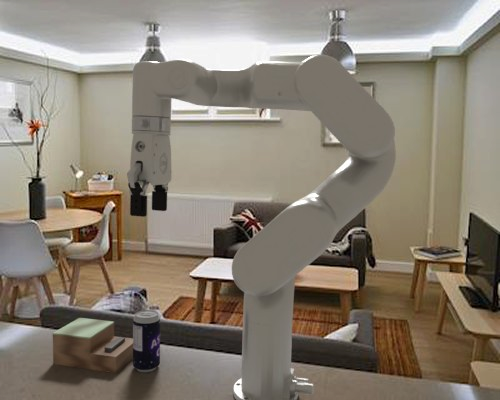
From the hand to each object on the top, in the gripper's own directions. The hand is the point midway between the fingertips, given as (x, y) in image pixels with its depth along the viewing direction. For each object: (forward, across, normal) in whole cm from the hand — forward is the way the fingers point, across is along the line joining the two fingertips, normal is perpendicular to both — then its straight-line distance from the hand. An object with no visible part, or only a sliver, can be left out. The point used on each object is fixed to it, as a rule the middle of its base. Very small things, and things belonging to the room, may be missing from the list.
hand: (149, 213), depth 95 cm
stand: (+34, +4, +14) cm, 37 cm away
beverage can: (+34, +3, +1) cm, 35 cm away
